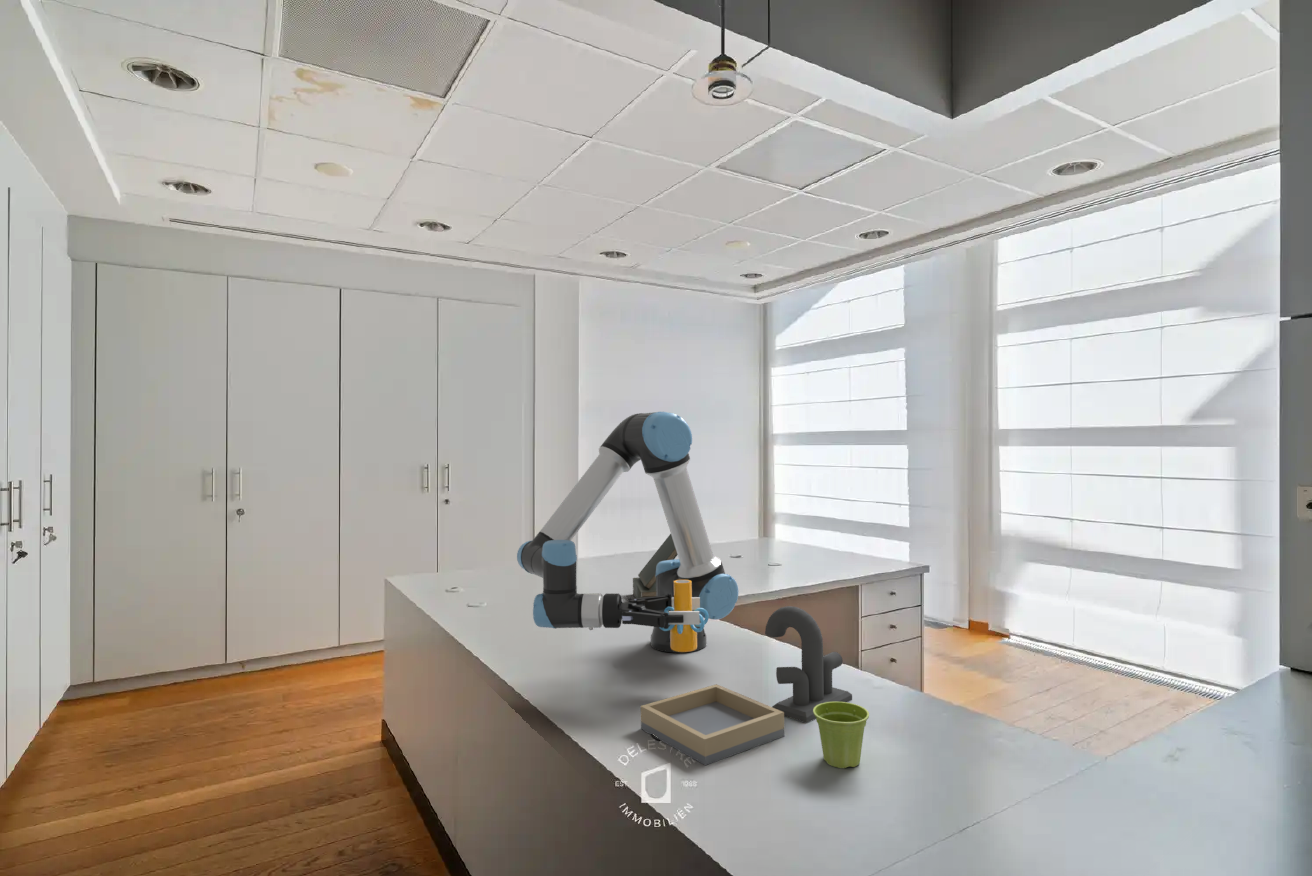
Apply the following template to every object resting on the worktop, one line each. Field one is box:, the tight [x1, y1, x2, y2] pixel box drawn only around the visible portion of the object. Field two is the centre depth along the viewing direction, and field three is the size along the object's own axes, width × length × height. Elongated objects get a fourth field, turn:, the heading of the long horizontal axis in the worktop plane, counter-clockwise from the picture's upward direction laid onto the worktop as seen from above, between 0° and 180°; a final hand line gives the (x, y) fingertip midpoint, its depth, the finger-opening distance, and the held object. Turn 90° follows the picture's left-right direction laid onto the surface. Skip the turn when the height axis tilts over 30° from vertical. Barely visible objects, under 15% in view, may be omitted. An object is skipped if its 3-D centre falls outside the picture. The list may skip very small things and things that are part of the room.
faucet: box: [764, 605, 853, 724], centre depth 154 cm, size 18×16×20 cm
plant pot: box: [813, 701, 870, 769], centre depth 125 cm, size 9×9×9 cm
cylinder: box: [659, 580, 709, 653], centre depth 161 cm, size 12×10×15 cm
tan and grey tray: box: [640, 683, 785, 766], centre depth 138 cm, size 19×19×4 cm
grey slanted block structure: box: [632, 533, 678, 598], centre depth 247 cm, size 23×20×25 cm
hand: (699, 610), depth 161 cm, fingers closed on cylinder, 12 cm apart
